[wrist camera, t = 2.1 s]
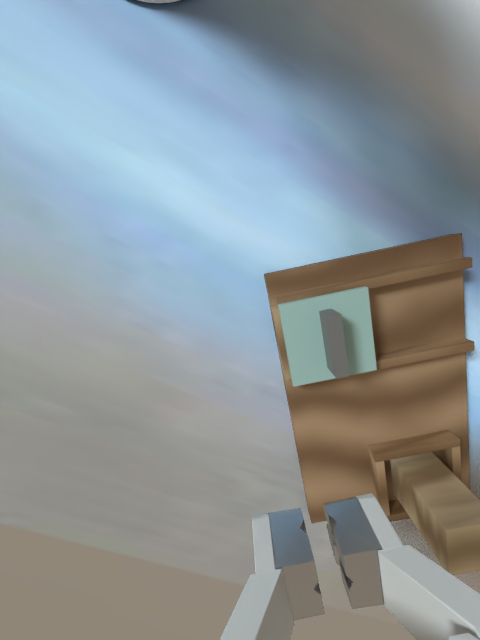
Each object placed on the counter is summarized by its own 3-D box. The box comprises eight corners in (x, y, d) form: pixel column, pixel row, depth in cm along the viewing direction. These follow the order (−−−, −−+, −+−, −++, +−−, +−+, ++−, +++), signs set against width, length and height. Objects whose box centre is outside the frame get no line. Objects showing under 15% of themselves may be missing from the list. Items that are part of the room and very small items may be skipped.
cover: (277, 304, 24) (283, 311, 21) (364, 286, 23) (381, 290, 21) (292, 383, 25) (299, 399, 23) (373, 367, 25) (390, 381, 22)
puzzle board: (263, 274, 26) (266, 276, 23) (451, 234, 26) (476, 232, 23) (308, 513, 32) (315, 536, 29) (461, 484, 32) (482, 505, 29)
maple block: (389, 456, 29) (446, 530, 21) (428, 448, 29) (500, 520, 21) (393, 492, 30) (448, 575, 22) (431, 485, 30) (500, 566, 22)
